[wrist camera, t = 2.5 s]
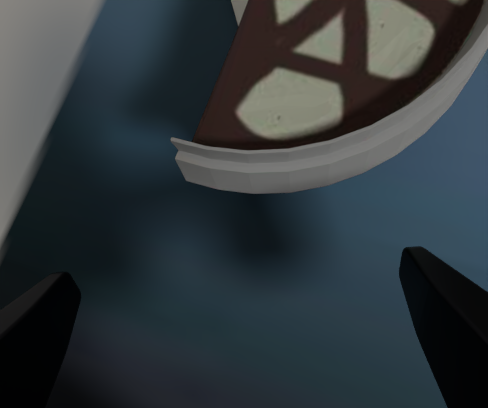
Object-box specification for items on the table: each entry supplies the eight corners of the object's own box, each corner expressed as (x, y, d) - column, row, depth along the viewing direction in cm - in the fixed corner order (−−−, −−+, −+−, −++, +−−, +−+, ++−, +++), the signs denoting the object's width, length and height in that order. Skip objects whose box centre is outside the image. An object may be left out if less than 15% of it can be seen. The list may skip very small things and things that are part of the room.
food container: (346, 255, 16) (448, 271, 6) (228, 209, 17) (160, 163, 7) (429, 27, 17) (630, -265, 7) (313, -6, 18) (354, -305, 8)
